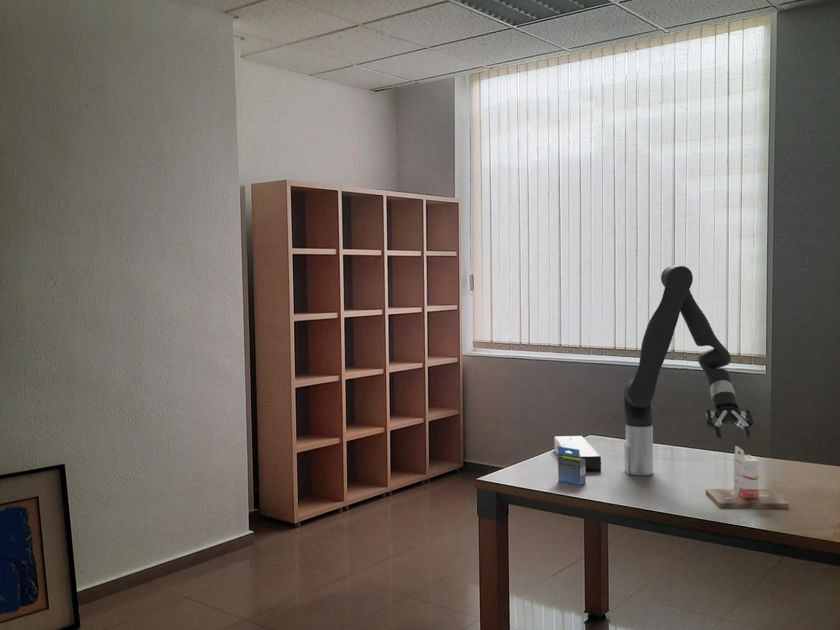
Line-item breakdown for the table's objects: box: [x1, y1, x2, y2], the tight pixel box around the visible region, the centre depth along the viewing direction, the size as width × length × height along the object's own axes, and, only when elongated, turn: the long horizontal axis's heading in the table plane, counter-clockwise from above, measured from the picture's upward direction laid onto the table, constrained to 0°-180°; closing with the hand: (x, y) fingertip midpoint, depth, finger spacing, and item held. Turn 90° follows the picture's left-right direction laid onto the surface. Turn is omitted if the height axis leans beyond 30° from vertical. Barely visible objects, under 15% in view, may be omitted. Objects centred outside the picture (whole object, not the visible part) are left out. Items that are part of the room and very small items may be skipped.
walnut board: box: [705, 488, 789, 509], centre depth 238 cm, size 20×15×2 cm
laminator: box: [554, 435, 602, 473], centre depth 292 cm, size 34×12×6 cm, turn 179°
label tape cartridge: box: [557, 446, 587, 486], centre depth 262 cm, size 9×4×12 cm, turn 47°
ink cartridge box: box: [733, 445, 760, 498], centre depth 238 cm, size 9×5×15 cm, turn 176°
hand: (733, 438), depth 248 cm, fingers open, 8 cm apart
